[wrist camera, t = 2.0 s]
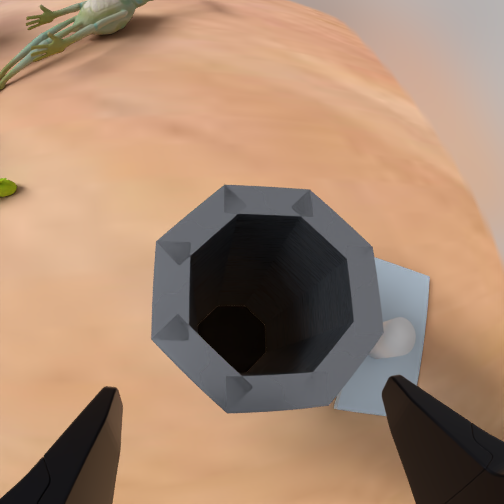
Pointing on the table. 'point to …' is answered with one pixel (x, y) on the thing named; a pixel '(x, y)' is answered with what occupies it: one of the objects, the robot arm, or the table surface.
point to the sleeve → (268, 296)
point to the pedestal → (390, 339)
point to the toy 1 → (7, 187)
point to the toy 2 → (72, 29)
